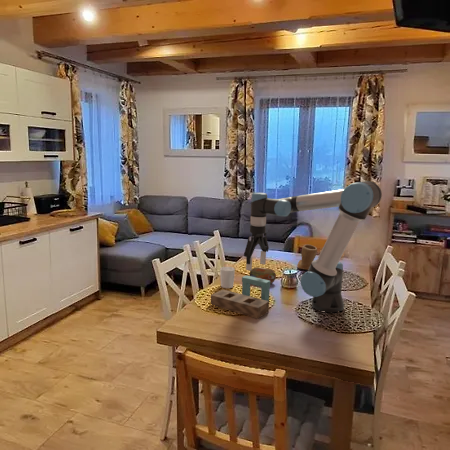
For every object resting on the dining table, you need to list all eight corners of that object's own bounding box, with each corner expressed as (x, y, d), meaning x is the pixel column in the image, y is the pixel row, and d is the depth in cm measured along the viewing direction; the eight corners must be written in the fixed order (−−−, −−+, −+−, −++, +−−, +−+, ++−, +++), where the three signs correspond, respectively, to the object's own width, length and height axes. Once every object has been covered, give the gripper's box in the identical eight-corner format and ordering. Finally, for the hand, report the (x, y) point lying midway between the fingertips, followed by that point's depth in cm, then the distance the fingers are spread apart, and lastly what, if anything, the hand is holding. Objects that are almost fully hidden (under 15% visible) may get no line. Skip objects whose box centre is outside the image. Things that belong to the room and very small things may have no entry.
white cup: (232, 289, 216) (233, 271, 215) (218, 288, 218) (218, 270, 216) (235, 284, 224) (235, 267, 222) (221, 283, 226) (221, 266, 224)
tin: (249, 281, 230) (249, 267, 229) (250, 279, 233) (251, 265, 232) (274, 285, 225) (275, 270, 223) (276, 283, 228) (276, 269, 226)
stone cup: (314, 272, 250) (316, 248, 248) (295, 270, 254) (296, 246, 251) (317, 265, 265) (318, 243, 262) (298, 263, 268) (300, 241, 265)
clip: (269, 301, 201) (270, 280, 199) (265, 303, 198) (266, 282, 196) (245, 294, 209) (246, 275, 207) (241, 297, 205) (242, 277, 203)
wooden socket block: (268, 311, 188) (269, 301, 187) (257, 318, 180) (258, 307, 179) (222, 298, 202) (222, 289, 201) (210, 304, 194) (210, 295, 193)
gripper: (263, 220, 208) (261, 260, 212) (237, 227, 188) (235, 271, 192) (276, 222, 204) (274, 262, 208) (251, 229, 184) (249, 274, 188)
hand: (255, 267), depth 200 cm, fingers open, 13 cm apart
